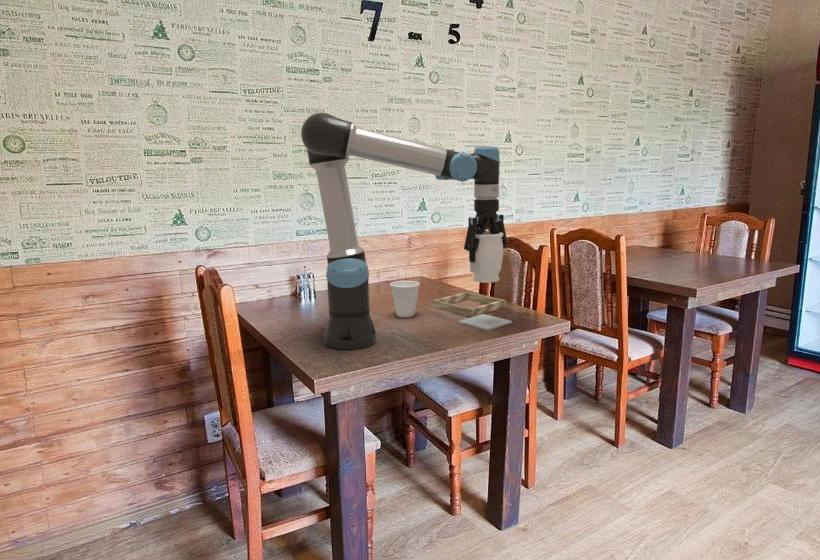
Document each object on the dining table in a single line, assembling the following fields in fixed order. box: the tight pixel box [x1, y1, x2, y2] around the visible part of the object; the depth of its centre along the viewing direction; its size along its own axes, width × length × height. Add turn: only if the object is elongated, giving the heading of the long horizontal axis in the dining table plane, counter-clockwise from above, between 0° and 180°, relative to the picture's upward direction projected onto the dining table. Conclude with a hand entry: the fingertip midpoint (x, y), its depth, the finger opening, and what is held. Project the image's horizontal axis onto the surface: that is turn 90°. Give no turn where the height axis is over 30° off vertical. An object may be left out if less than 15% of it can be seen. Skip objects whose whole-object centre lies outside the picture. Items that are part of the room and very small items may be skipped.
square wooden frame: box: [431, 291, 507, 318], centre depth 196 cm, size 18×18×2 cm
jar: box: [472, 230, 504, 284], centre depth 172 cm, size 11×10×15 cm
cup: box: [389, 280, 421, 318], centre depth 186 cm, size 10×10×11 cm
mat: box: [458, 313, 513, 332], centre depth 176 cm, size 12×12×1 cm
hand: (486, 269), depth 173 cm, fingers closed on jar, 10 cm apart
